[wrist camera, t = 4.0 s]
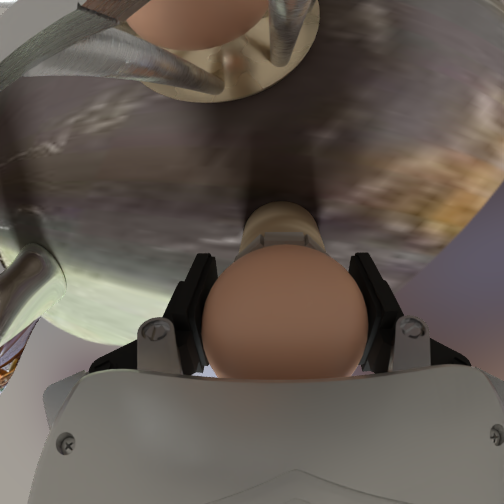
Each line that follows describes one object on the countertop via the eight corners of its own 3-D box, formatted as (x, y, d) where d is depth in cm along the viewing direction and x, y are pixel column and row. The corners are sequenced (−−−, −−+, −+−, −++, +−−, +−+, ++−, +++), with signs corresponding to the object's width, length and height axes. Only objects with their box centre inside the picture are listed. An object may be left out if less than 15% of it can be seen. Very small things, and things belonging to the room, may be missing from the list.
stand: (320, 201, 15) (339, 240, 10) (315, 268, 17) (327, 321, 13) (241, 201, 15) (229, 241, 11) (245, 268, 17) (237, 321, 13)
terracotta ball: (356, 218, 10) (419, 321, 5) (338, 325, 13) (358, 428, 8) (209, 218, 11) (156, 323, 6) (224, 325, 14) (203, 429, 9)
